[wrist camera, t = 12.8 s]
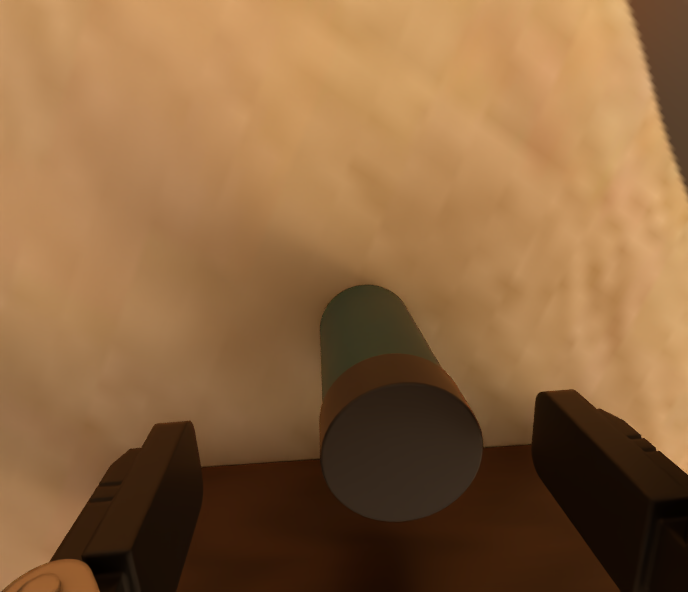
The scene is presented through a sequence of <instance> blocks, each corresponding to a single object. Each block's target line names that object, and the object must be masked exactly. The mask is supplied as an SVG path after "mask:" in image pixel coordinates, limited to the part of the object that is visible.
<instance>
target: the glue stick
mask: <svg viewBox="0 0 688 592" xmlns="http://www.w3.org/2000/svg"><path fill="white" fill-rule="evenodd" d="M320 345H321V375H322V406H321V410H320V416H319V432H320V464H321V470H322V474H323V477H324V480H325V482H326V484H327V486H328V487H329V489H330V490H331V492H332V493H333V495H334V496H335V497H336V498H337V499H338V500H339V501H340V502H341V503H342V504H343V505H344V506H346V507H347V508H349V509H350V510H352V511H353V512H355V513H357V514H359V515H362V516H364V517H367V518H370V519H374V520H379V521H386V522H405V521H412V520H416V519H421V518H424V517H427V516H430V515H432V514H434V513H437V512H439V511H441V510H442V509H444V508H446V507H447V506H449V505H450V504H452V503H453V502H454V501H456V500H457V499H458V498H459V497H460V496H461V495H462V494H463V493H464V492H465V491H466V489H467V488H468V487H469V486H470V484H471V483H472V481H473V480H474V478H475V476H476V474H477V472H478V469H479V467H480V463H481V460H482V453H483V438H482V432H481V429H480V426H479V423H478V421H477V419H476V417H475V415H474V413H473V412H472V410H471V408H470V407H469V405H468V403H467V402H466V400H465V399H464V397H463V395H462V394H461V392H460V390H459V389H458V387H457V385H456V384H455V382H454V381H453V380H452V378H451V377H450V376H449V375H448V374H447V373H446V372H445V371H444V370H443V369H442V368H441V366H440V364H439V362H438V361H437V359H436V357H435V356H434V354H433V352H432V351H431V349H430V347H429V345H428V344H427V342H426V340H425V339H424V337H423V335H422V333H421V332H420V330H419V328H418V327H417V325H416V323H415V322H414V320H413V318H412V316H411V315H410V313H409V311H408V310H407V308H406V306H405V305H404V303H403V302H402V300H401V299H400V298H399V297H398V296H396V295H395V294H394V293H393V292H391V291H389V290H387V289H385V288H383V287H379V286H374V285H360V286H355V287H352V288H349V289H347V290H345V291H343V292H341V293H340V294H338V295H337V296H336V297H335V298H333V299H332V300H331V302H330V303H329V304H328V305H327V307H326V309H325V311H324V313H323V315H322V318H321V323H320Z"/></svg>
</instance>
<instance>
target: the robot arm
mask: <svg viewBox="0 0 688 592" xmlns="http://www.w3.org/2000/svg"><path fill="white" fill-rule="evenodd" d="M531 454H532V460H533V464H534V467H535V470H536V472H537V474H538V476H539V478H540V479H541V480H542V482H543V483H544V485H545V486H546V487H547V489H548V490H549V492H550V493H551V494H552V496H553V497H554V499H555V500H556V501H557V503H558V504H559V506H560V507H561V508H562V510H563V511H564V513H565V514H566V515H567V517H568V518H569V520H570V521H571V522H572V524H573V525H574V527H575V528H576V529H577V531H578V532H579V534H580V535H581V536H582V538H583V539H584V541H585V542H586V544H587V545H588V546H589V548H590V549H591V551H592V552H593V553H594V555H595V556H596V558H597V559H598V560H599V562H600V563H601V565H602V566H603V567H604V569H605V570H606V572H607V573H608V574H609V576H610V577H611V579H612V580H613V581H614V583H615V584H616V586H617V587H618V588H619V590H620V591H621V592H688V475H687V474H686V473H685V472H684V471H682V470H681V469H680V468H679V467H678V466H677V465H675V464H674V463H673V462H672V461H671V460H670V459H668V458H667V457H666V456H665V455H664V454H662V453H661V452H660V451H656V448H655V447H654V446H653V445H652V444H651V443H649V442H648V441H647V440H646V439H645V438H641V435H640V434H639V433H638V432H637V431H635V430H634V429H633V428H632V427H631V426H629V425H628V424H627V423H626V422H625V421H624V420H622V419H620V418H618V417H616V416H614V415H612V414H610V413H608V412H606V411H604V410H602V409H596V408H595V407H594V406H593V405H591V404H590V403H589V402H588V401H587V400H586V399H585V398H584V397H582V396H581V395H580V394H579V393H578V392H577V391H575V390H572V389H570V390H558V391H546V392H540V393H539V394H538V395H537V397H536V401H535V412H534V423H533V435H532V446H531ZM89 500H90V501H89V503H87V504H86V505H85V507H84V509H83V510H82V512H81V513H80V515H79V517H78V518H77V520H76V521H75V523H74V524H73V526H72V528H71V529H70V531H69V532H68V534H67V536H66V537H65V539H64V540H63V542H62V544H61V545H60V547H59V548H58V550H57V552H56V553H55V555H54V556H53V558H52V559H51V561H50V562H48V563H46V564H43V565H40V566H38V567H36V568H34V569H32V570H30V571H28V572H27V573H25V574H23V575H22V576H20V577H19V578H17V579H16V580H14V581H13V582H12V583H11V584H9V585H8V586H7V587H6V588H5V589H4V590H3V591H2V592H176V590H177V587H178V584H179V580H180V577H181V574H182V570H183V567H184V564H185V560H186V557H187V554H188V550H189V547H190V544H191V540H192V537H193V534H194V530H195V527H196V523H197V520H198V517H199V513H200V510H201V506H202V501H203V477H202V471H201V465H200V459H199V453H198V447H197V442H196V436H195V430H194V426H193V424H192V422H191V421H182V422H170V423H158V424H155V425H154V426H153V428H152V430H151V432H150V433H149V435H148V437H147V439H146V440H145V442H144V444H143V446H142V448H134V449H129V450H128V451H127V452H126V453H125V454H123V455H122V456H121V457H120V458H119V459H118V460H116V461H115V462H114V463H113V464H112V465H111V466H110V467H109V469H108V470H107V472H106V474H105V475H104V477H103V478H102V480H101V481H100V483H99V487H97V488H96V489H95V491H94V493H93V494H92V496H91V497H90V499H89Z"/></svg>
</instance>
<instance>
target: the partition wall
mask: <svg viewBox="0 0 688 592" xmlns="http://www.w3.org/2000/svg"><path fill="white" fill-rule="evenodd" d="M531 446H532V445H520V446H506V447H491V448H483V453H482V460H481V463H480V467H479V469H478V472H477V474H476V476H475V478H474V480H473V481H472V483H471V484H470V486H469V487H468V488H467V489H466V491H465V492H464V493H463V494H462V495H461V496H460V497H459V498H458V499H457V500H456V501H454V502H453V503H452V504H450V505H449V506H447V507H446V508H444V509H442V510H441V511H439V512H437V513H434V514H432V515H430V516H427V517H424V518H421V519H416V520H412V521H405V522H386V521H379V520H374V519H370V518H367V517H364V516H362V515H359V514H357V513H355V512H353V511H352V510H350V509H349V508H347V507H346V506H344V505H343V504H342V503H341V502H340V501H339V500H338V499H337V498H336V497H335V496H334V495H333V493H332V492H331V490H330V489H329V487H328V486H327V484H326V482H325V480H324V477H323V474H322V470H321V464H320V459H318V460H304V461H290V462H275V463H261V464H247V465H232V466H218V467H203V468H201V471H202V477H203V501H202V506H201V510H200V513H199V517H198V520H197V523H196V527H195V530H194V534H193V537H192V540H191V544H190V547H189V550H188V554H187V557H186V560H185V564H184V567H183V570H182V574H181V577H180V580H179V584H178V587H177V590H176V592H621V591H620V590H619V588H618V587H617V586H616V584H615V583H614V581H613V580H612V579H611V577H610V576H609V574H608V573H607V572H606V570H605V569H604V567H603V566H602V565H601V563H600V562H599V560H598V559H597V558H596V556H595V555H594V553H593V552H592V551H591V549H590V548H589V546H588V545H587V544H586V542H585V541H584V539H583V538H582V536H581V535H580V534H579V532H578V531H577V529H576V528H575V527H574V525H573V524H572V522H571V521H570V520H569V518H568V517H567V515H566V514H565V513H564V511H563V510H562V508H561V507H560V506H559V504H558V503H557V501H556V500H555V499H554V497H553V496H552V494H551V493H550V492H549V490H548V489H547V487H546V486H545V485H544V483H543V482H542V480H541V479H540V478H539V476H538V474H537V472H536V470H535V467H534V464H533V460H532V454H531ZM98 487H99V485H98ZM89 501H90V500H89ZM89 501H88V502H87V503H89ZM83 509H84V508H83ZM78 517H79V516H78ZM76 520H77V519H76ZM74 523H75V522H74ZM71 528H72V527H71ZM69 531H70V530H69ZM67 534H68V533H67ZM66 536H67V535H66ZM66 536H65V537H66ZM64 539H65V538H64ZM62 542H63V541H62ZM61 544H62V543H61ZM61 544H60V545H61ZM59 547H60V546H59ZM59 547H58V548H59ZM57 550H58V549H57ZM57 550H56V552H57ZM56 552H55V553H56ZM54 555H55V554H54ZM54 555H53V556H54ZM52 558H53V557H52ZM52 558H51V559H52ZM50 561H51V560H50ZM50 561H49V562H50Z"/></svg>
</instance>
